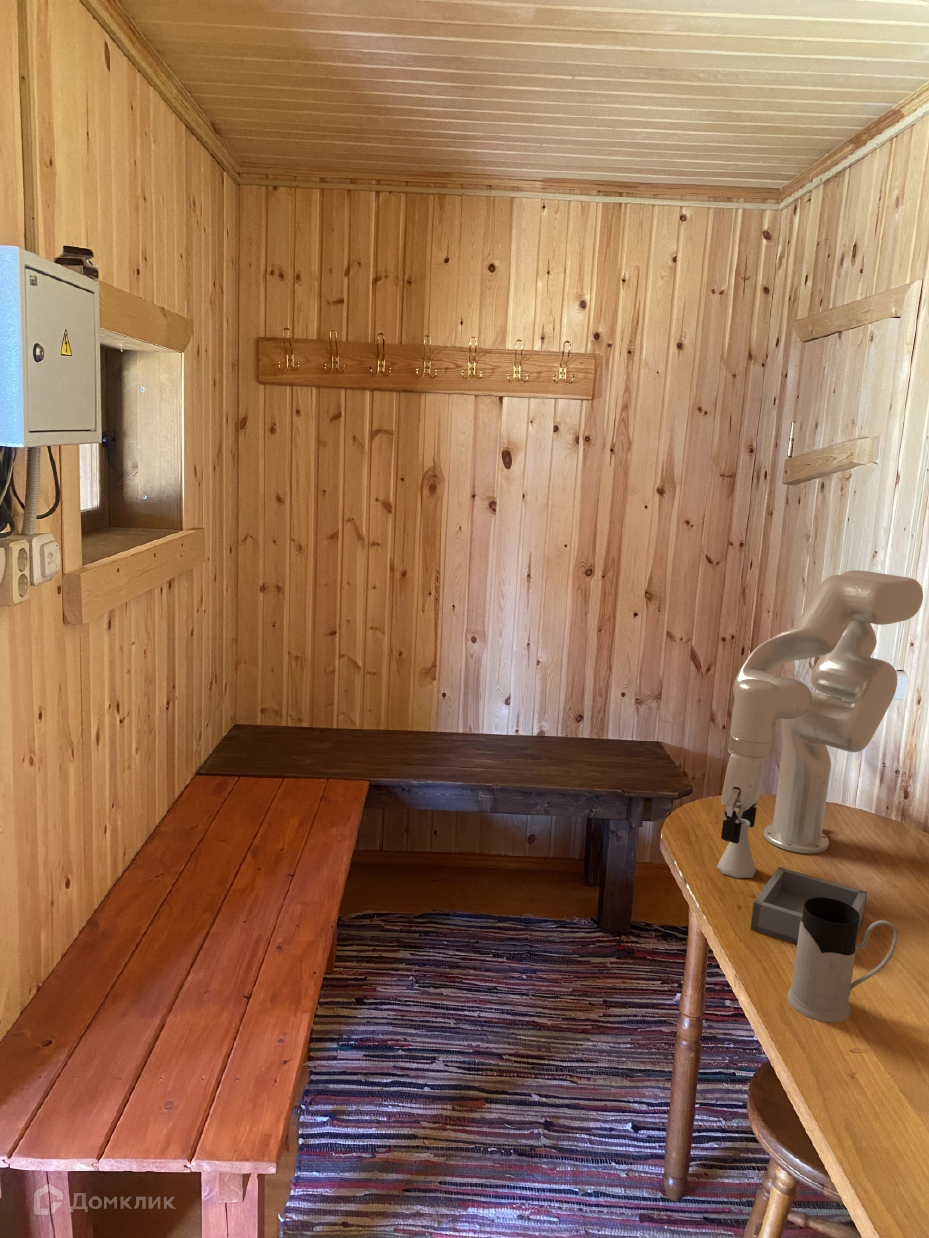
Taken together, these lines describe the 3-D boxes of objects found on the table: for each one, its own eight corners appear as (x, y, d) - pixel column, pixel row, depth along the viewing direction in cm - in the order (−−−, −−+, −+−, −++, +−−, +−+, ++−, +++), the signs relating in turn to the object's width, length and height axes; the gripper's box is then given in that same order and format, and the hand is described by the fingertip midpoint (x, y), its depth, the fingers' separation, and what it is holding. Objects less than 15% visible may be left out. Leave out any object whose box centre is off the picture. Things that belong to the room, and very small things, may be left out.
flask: (757, 881, 171) (763, 832, 169) (717, 876, 172) (723, 827, 170) (753, 864, 178) (759, 816, 176) (715, 859, 179) (720, 811, 177)
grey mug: (779, 983, 139) (791, 893, 136) (873, 989, 139) (887, 898, 136) (798, 1020, 130) (811, 924, 127) (898, 1026, 130) (914, 930, 127)
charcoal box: (775, 891, 167) (778, 866, 166) (863, 918, 159) (867, 892, 158) (750, 929, 154) (753, 902, 153) (844, 960, 146) (848, 931, 145)
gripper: (743, 731, 179) (731, 814, 182) (714, 752, 164) (703, 841, 167) (782, 740, 175) (770, 824, 178) (756, 762, 160) (744, 853, 163)
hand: (737, 832), depth 173 cm, fingers open, 9 cm apart
